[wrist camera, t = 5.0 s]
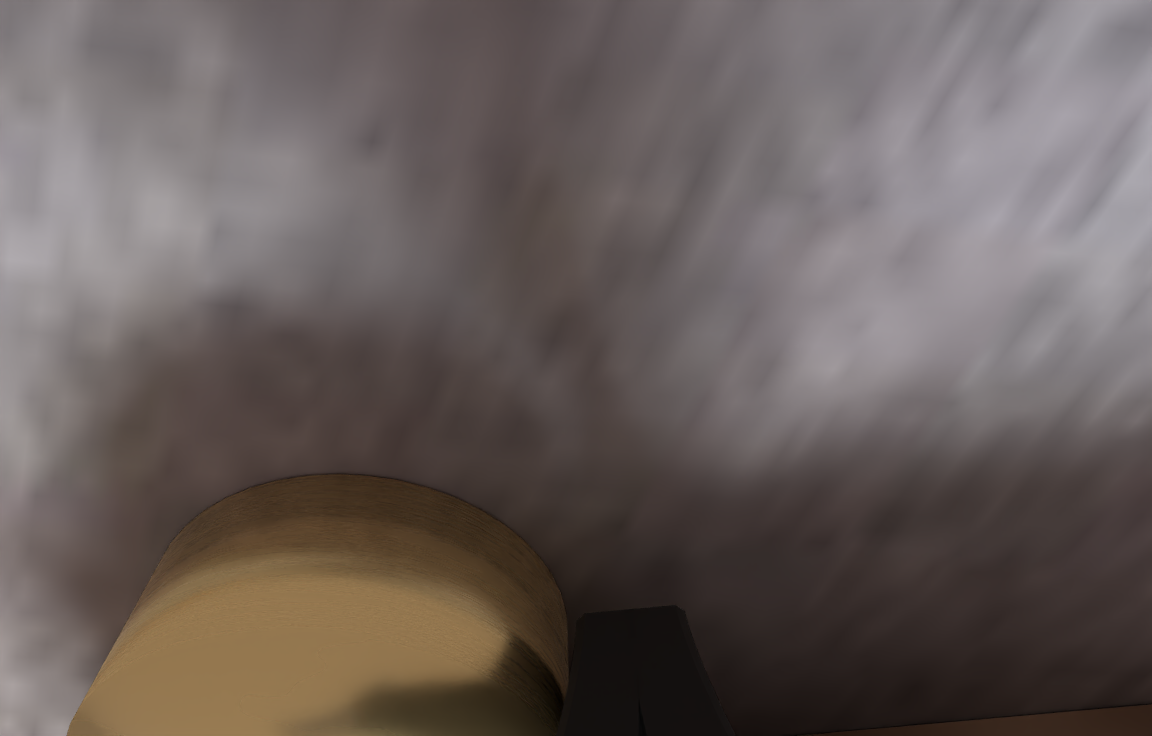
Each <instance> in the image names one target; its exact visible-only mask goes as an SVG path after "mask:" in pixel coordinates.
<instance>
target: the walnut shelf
mask: <svg viewBox="0 0 1152 736" xmlns="http://www.w3.org/2000/svg"><path fill="white" fill-rule="evenodd" d="M799 736H1152V704H1151V705H1139V706H1128V707H1117V708H1105V709H1094V710H1083V711H1071V712H1060V713H1048V714H1037V715H1026V716H1014V717H1003V718H992V719H980V720H969V721H958V722H946V723H935V724H924V725H912V726H901V727H890V728H878V729H867V730H856V731H844V732H833V733H822V734H810V735H799Z"/></svg>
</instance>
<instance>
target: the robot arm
mask: <svg viewBox="0 0 1152 736" xmlns="http://www.w3.org/2000/svg"><path fill="white" fill-rule="evenodd" d="M556 736H736V735H735V733H734V731H733V729H732V727H731V725H730V723H729V721H728V719H727V717H726V715H725V713H724V711H723V709H722V707H721V705H720V702H719V700H718V698H717V696H716V694H715V691H714V689H713V687H712V685H711V683H710V680H709V678H708V676H707V673H706V671H705V669H704V666H703V664H702V661H701V659H700V656H699V654H698V651H697V649H696V646H695V643H694V640H693V637H692V634H691V631H690V629H689V625H688V622H687V618H686V615H685V611H684V610H682V609H681V608H679V607H678V606H676V605H672V606H661V607H650V608H640V609H629V610H619V611H608V612H597V613H587V614H584V615H583V616H582V617H580V618H579V619H578V620H577V622H576V636H575V646H574V653H573V660H572V666H571V672H570V677H569V682H568V687H567V692H566V696H565V700H564V705H563V709H562V714H561V718H560V722H559V726H558V730H557V733H556Z"/></svg>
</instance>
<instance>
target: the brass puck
mask: <svg viewBox="0 0 1152 736" xmlns="http://www.w3.org/2000/svg"><path fill="white" fill-rule="evenodd" d="M568 682H569V679H568V629H567V616H566V610H565V606H564V602H563V599H562V595H561V592H560V590H559V588H558V586H557V584H556V582H555V580H554V578H553V576H552V574H551V573H550V571H549V570H548V568H547V567H546V565H545V564H544V563H543V561H542V560H541V558H540V557H539V556H538V555H537V554H536V553H535V552H534V551H533V550H532V549H531V547H530V546H529V545H528V544H527V543H526V542H525V541H524V540H523V539H522V538H520V537H519V536H518V535H517V534H515V533H514V532H513V531H512V530H510V529H509V528H508V527H507V526H506V525H504V524H503V523H501V522H500V521H498V520H496V519H495V518H493V517H492V516H490V515H488V514H487V513H485V512H484V511H482V510H480V509H478V508H476V507H474V506H472V505H470V504H468V503H466V502H464V501H462V500H460V499H458V498H455V497H452V496H450V495H447V494H444V493H441V492H439V491H436V490H433V489H430V488H427V487H423V486H419V485H415V484H411V483H407V482H403V481H399V480H393V479H386V478H380V477H373V476H363V475H342V474H332V475H313V476H302V477H296V478H290V479H283V480H277V481H274V482H270V483H266V484H263V485H259V486H256V487H252V488H249V489H246V490H244V491H242V492H239V493H237V494H234V495H232V496H230V497H227V498H225V499H223V500H222V501H220V502H218V503H216V504H215V505H213V506H211V507H210V508H208V509H206V510H204V511H203V512H202V513H201V514H199V515H198V516H197V517H196V518H194V519H193V520H192V521H191V522H189V523H188V524H187V525H186V526H185V527H184V528H183V529H182V530H181V532H180V533H179V534H178V535H177V536H176V537H175V538H174V540H173V541H172V542H171V543H170V545H169V547H168V549H167V550H166V552H165V554H164V555H163V557H162V559H161V561H160V562H159V564H158V566H157V568H156V570H155V571H154V573H153V575H152V577H151V579H150V580H149V582H148V584H147V586H146V588H145V589H144V591H143V593H142V595H141V597H140V599H139V600H138V602H137V604H136V606H135V608H134V609H133V611H132V613H131V615H130V617H129V618H128V620H127V622H126V624H125V626H124V627H123V629H122V631H121V633H120V635H119V636H118V638H117V640H116V642H115V644H114V645H113V647H112V649H111V651H110V653H109V655H108V656H107V658H106V660H105V662H104V664H103V665H102V667H101V669H100V671H99V673H98V674H97V676H96V678H95V680H94V682H93V683H92V685H91V687H90V689H89V691H88V692H87V694H86V696H85V698H84V700H83V701H82V703H81V705H80V707H79V709H78V711H77V712H76V714H75V716H74V718H73V720H72V721H71V723H70V726H69V729H68V733H67V736H556V733H557V730H558V726H559V722H560V718H561V714H562V709H563V705H564V700H565V696H566V692H567V687H568Z"/></svg>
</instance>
